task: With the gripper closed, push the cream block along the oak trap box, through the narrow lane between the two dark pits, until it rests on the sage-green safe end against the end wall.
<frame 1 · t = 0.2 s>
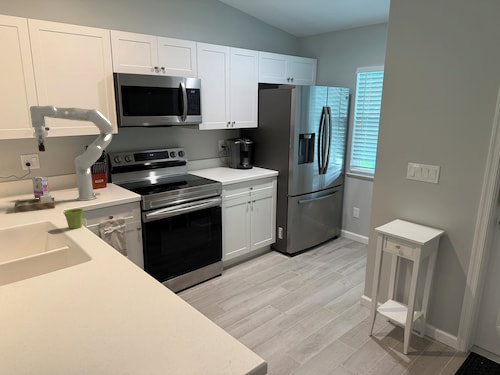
hand: (41, 151, 230), 36 cm above the worktop, tool pointing down, fingers open, 9 cm apart
candy bar box: (42, 199, 252), on the worktop
cream block: (46, 202, 226), point 3 cm above the worktop, touching trap box
plant pot: (75, 227, 176), on the worktop
trap box: (37, 207, 224), on the worktop
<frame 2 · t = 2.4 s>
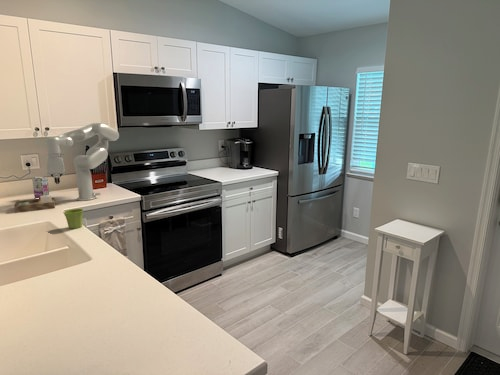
hand: (57, 183, 227), 14 cm above the worktop, tool pointing down, fingers closed
nothing on the worktop moved.
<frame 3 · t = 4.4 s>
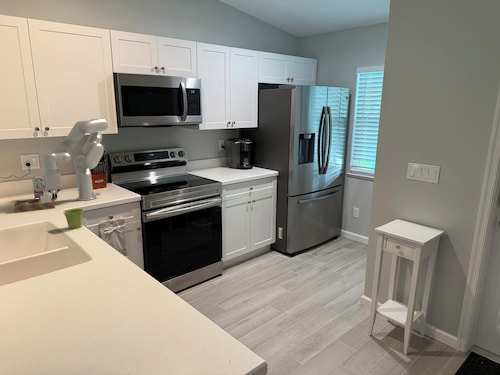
hand: (55, 199, 228), 4 cm above the worktop, tool pointing down, fingers closed
cream block: (46, 202, 226), point 3 cm above the worktop, touching gripper, trap box
everything else where it was.
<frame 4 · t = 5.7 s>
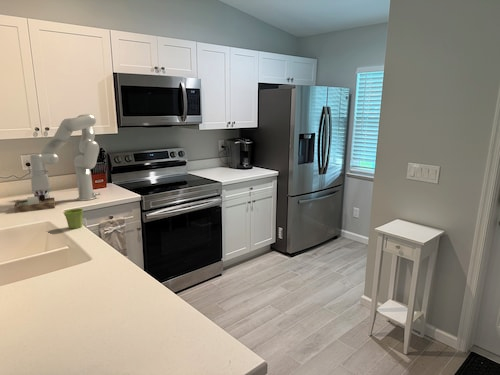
hand: (42, 200, 225), 4 cm above the worktop, tool pointing down, fingers closed
cream block: (33, 203, 223), point 3 cm above the worktop, touching gripper, trap box
everything else where it was.
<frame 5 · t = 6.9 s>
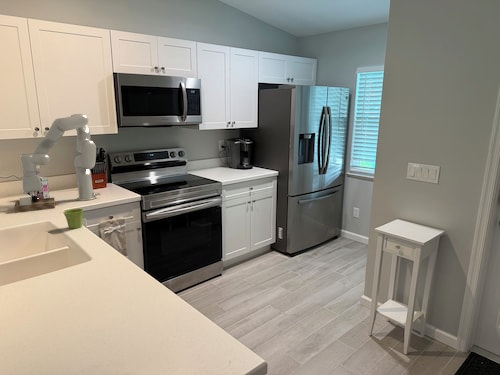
hand: (34, 201, 223), 4 cm above the worktop, tool pointing down, fingers closed
cream block: (26, 204, 221), point 3 cm above the worktop, touching gripper, trap box
everything else where it was.
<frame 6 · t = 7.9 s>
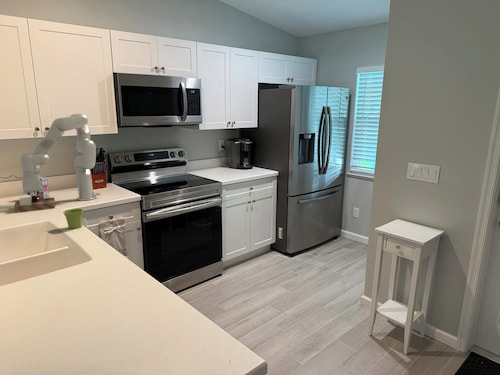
hand: (34, 201, 223), 4 cm above the worktop, tool pointing down, fingers closed
nothing on the worktop moved.
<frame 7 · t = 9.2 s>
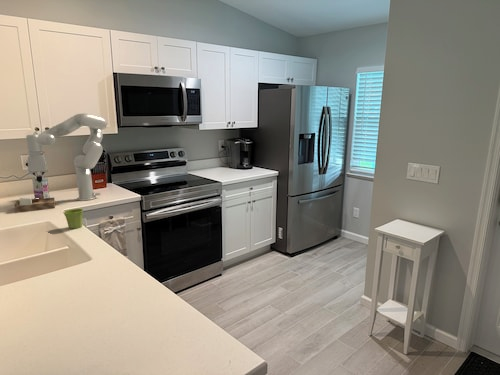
hand: (39, 182, 223), 16 cm above the worktop, tool pointing down, fingers closed
cream block: (26, 204, 221), point 3 cm above the worktop, touching trap box
everything else where it was.
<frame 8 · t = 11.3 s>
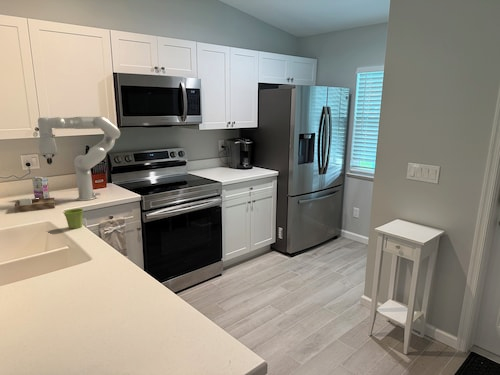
hand: (49, 164, 230), 27 cm above the worktop, tool pointing down, fingers closed
nothing on the worktop moved.
at the end: cream block 1.1 cm from the target spot on the trap box, point 3.0 cm above the trap box's base; cream block tilted 0° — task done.
